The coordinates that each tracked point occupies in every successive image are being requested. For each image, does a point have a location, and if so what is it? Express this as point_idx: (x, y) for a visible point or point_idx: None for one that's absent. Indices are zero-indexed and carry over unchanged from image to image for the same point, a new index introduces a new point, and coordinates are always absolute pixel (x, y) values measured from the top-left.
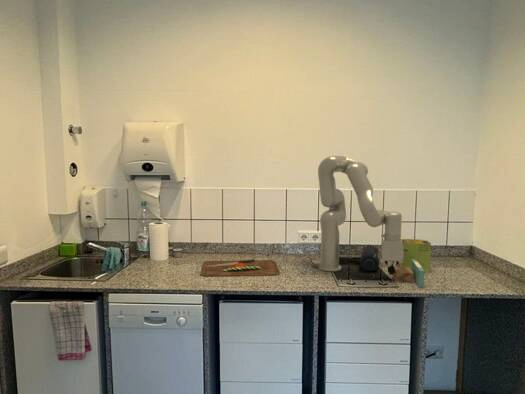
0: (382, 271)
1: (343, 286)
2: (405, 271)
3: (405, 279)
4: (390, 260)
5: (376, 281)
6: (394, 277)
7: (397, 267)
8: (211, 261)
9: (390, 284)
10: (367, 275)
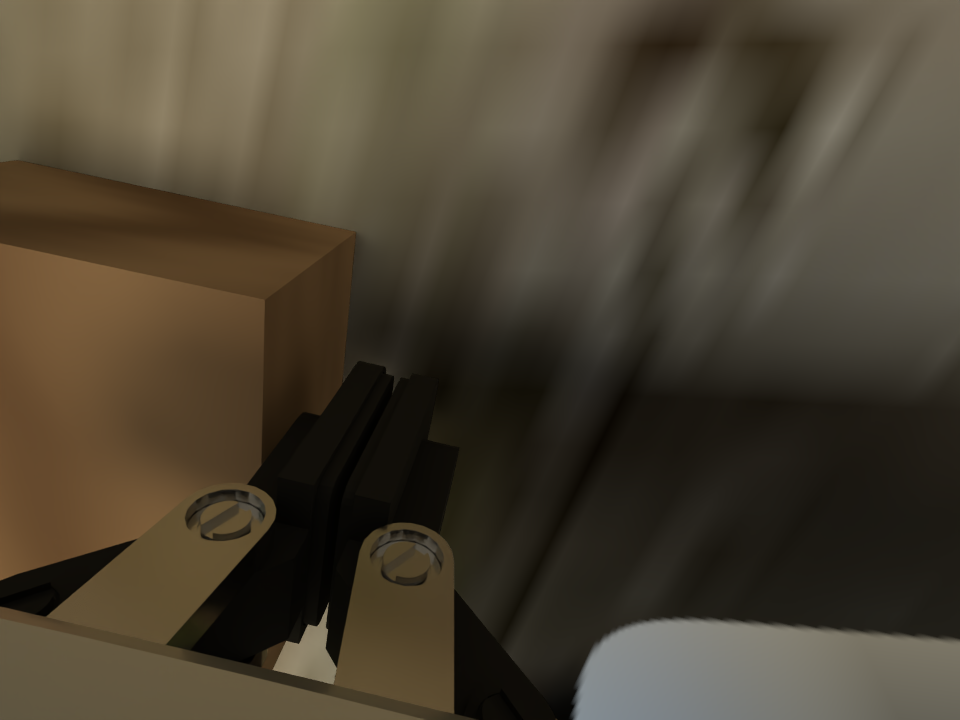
0: None
1: None
2: (1, 364)
3: (130, 204)
4: (311, 701)
5: (780, 261)
6: None
7: None
8: None
9: (542, 27)
10: (765, 594)
